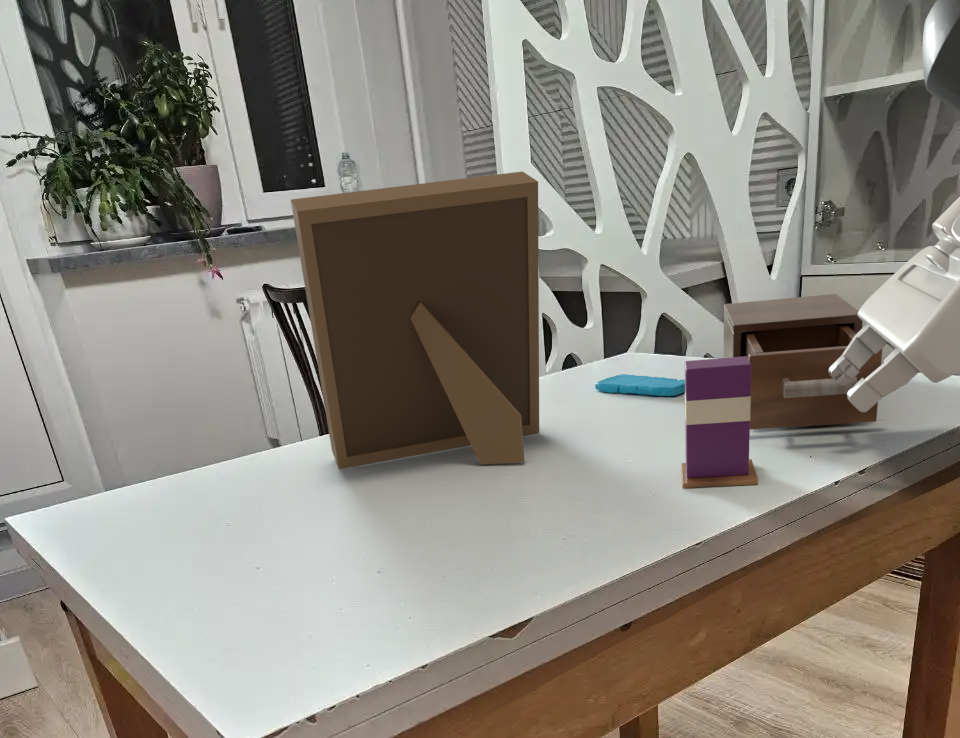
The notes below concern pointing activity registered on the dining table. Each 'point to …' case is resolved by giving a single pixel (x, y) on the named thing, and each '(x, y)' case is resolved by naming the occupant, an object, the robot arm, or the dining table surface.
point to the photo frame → (425, 316)
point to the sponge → (641, 385)
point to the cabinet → (784, 317)
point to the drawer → (802, 377)
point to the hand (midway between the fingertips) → (843, 391)
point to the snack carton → (717, 417)
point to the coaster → (720, 479)
